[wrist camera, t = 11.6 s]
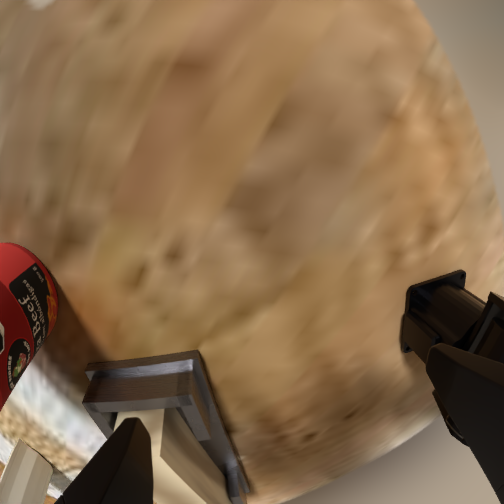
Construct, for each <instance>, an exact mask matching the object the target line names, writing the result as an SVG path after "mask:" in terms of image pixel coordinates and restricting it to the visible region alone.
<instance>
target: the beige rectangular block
mask: <svg viewBox="0 0 504 504" xmlns="http://www.w3.org/2000/svg"><path fill="white" fill-rule="evenodd" d="M127 417H138V418H140V419H141V421H142V422H143V424H144V426H145V427H146V429H147V431H148V432H149V434H150V437H151V449H152V465H153V479H154V490H153V501H155V502H156V503H157V504H233V502H232V501H231V499H230V496H229V487H228V480H227V479H226V478H225V476H224V475H223V474H222V472H221V471H220V470H219V469H218V467H217V466H216V465H215V463H214V462H213V461H212V459H211V458H210V457H209V455H208V454H207V453H206V451H205V450H204V449H203V447H202V446H201V445H200V443H199V442H198V441H197V439H196V437H195V436H194V435H193V433H192V432H191V430H190V429H189V427H188V426H187V424H186V423H185V421H184V420H183V418H182V417H181V415H180V414H179V412H178V411H177V409H176V408H175V407H174V408H165V409H154V410H141V411H126V412H118V416H117V420H116V424H115V428H114V431H115V430H116V428H117V427H118V426H119V425H120V424H121V422H122V421H123V420H124V419H125V418H127Z"/></svg>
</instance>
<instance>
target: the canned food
mask: <svg viewBox="0 0 504 504" xmlns="http://www.w3.org/2000/svg"><path fill="white" fill-rule="evenodd" d="M57 313H58V298H57V293H56V289H55V286H54V284H53V281H52V279H51V277H50V275H49V273H48V272H47V270H46V268H45V267H44V266H43V264H42V263H41V262H40V260H39V259H38V258H37V257H36V256H35V255H34V254H33V253H31V252H30V251H29V250H27V249H26V248H24V247H22V246H20V245H18V244H14V243H0V411H1V409H2V407H3V406H4V404H5V402H6V401H7V399H8V397H9V395H10V394H11V392H12V390H13V389H14V387H15V385H16V384H17V382H18V381H19V379H20V377H21V376H22V374H23V373H24V371H25V370H26V368H27V366H28V365H29V363H30V362H31V360H32V359H33V357H34V356H35V354H36V353H37V351H38V350H39V348H40V347H41V345H42V344H43V343H44V341H45V340H46V338H47V337H48V335H49V334H50V333H51V331H52V329H53V328H54V325H55V322H56V318H57Z"/></svg>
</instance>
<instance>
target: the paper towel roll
mask: <svg viewBox="0 0 504 504" xmlns="http://www.w3.org/2000/svg"><path fill="white" fill-rule="evenodd" d="M52 473H53V468H52V467H51V465H50V464H49V463H48V462H47V461H46V460H45V459H44V458H43V457H42V456H41V455H39V454H38V453H37V452H36V451H34V450H33V449H31V448H30V447H29V446H27V445H26V444H25V443H24V442H23V441H22V440H21V439H20V438H18V441H17V443H16V445H15V447H14V448H13V450H12V452H11V454H10V456H9V459H8V461H7V464H6V466H5V468H4V471H3V473H2V476H1V478H0V504H44V500H45V497H46V493H47V490H48V486H49V483H50V479H51V476H52Z"/></svg>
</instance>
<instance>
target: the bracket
mask: <svg viewBox="0 0 504 504" xmlns="http://www.w3.org/2000/svg"><path fill="white" fill-rule="evenodd" d="M85 373H86V375H87V377H88V379H89V380H90V384H89V386H88V389H87V391H86V394H85V396H84V399H83V402H82V404H83V405H84V407H85V408H86V410H87V411H88V413H89V414H90V416H91V417H92V419H93V420H94V422H95V423H96V424H97V426H98V427H99V429H100V430H101V431H102V433H103V434H104V435H105V437H106V438H107V439H108V438H109V437H110V436H111V435H112V433H113V432H114V428H115V424H116V420H117V416H118V412H126V411H141V410H154V409H165V408H174V407H175V408H176V409H177V411H178V412H179V414H180V415H181V417H182V418H183V420H184V421H185V423H186V424H187V426H188V427H189V429H190V430H191V432H192V433H193V435H194V436H195V437H196V439H197V441H198V442H199V443H200V445H201V446H202V447H203V449H204V450H205V451H206V453H207V454H208V455H209V457H210V458H211V459H212V461H213V462H214V463H215V465H216V466H217V467H218V469H219V470H220V471H221V472H222V474H223V475H224V476H225V478H226V479H227V480H228V487H229V496H230V499H231V501H232V502H233V504H247V500H246V494H245V493H249V492H250V489H249V485H248V482H247V480H246V478H245V475H244V473H243V471H242V468H241V466H240V464H239V461H238V459H237V456H236V454H235V451H234V449H233V446H232V444H231V441H230V439H229V436H228V434H227V431H226V429H225V426H224V423H223V421H222V418H221V415H220V413H219V410H218V407H217V404H216V402H215V399H214V396H213V393H212V390H211V388H210V385H209V382H208V379H207V376H206V373H205V370H204V367H203V364H202V361H201V358H200V355H199V352H198V350H193V351H187V352H181V353H174V354H167V355H160V356H153V357H146V358H138V359H129V360H121V361H111V362H101V363H90V364H88V365H87V367H86V370H85Z"/></svg>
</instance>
